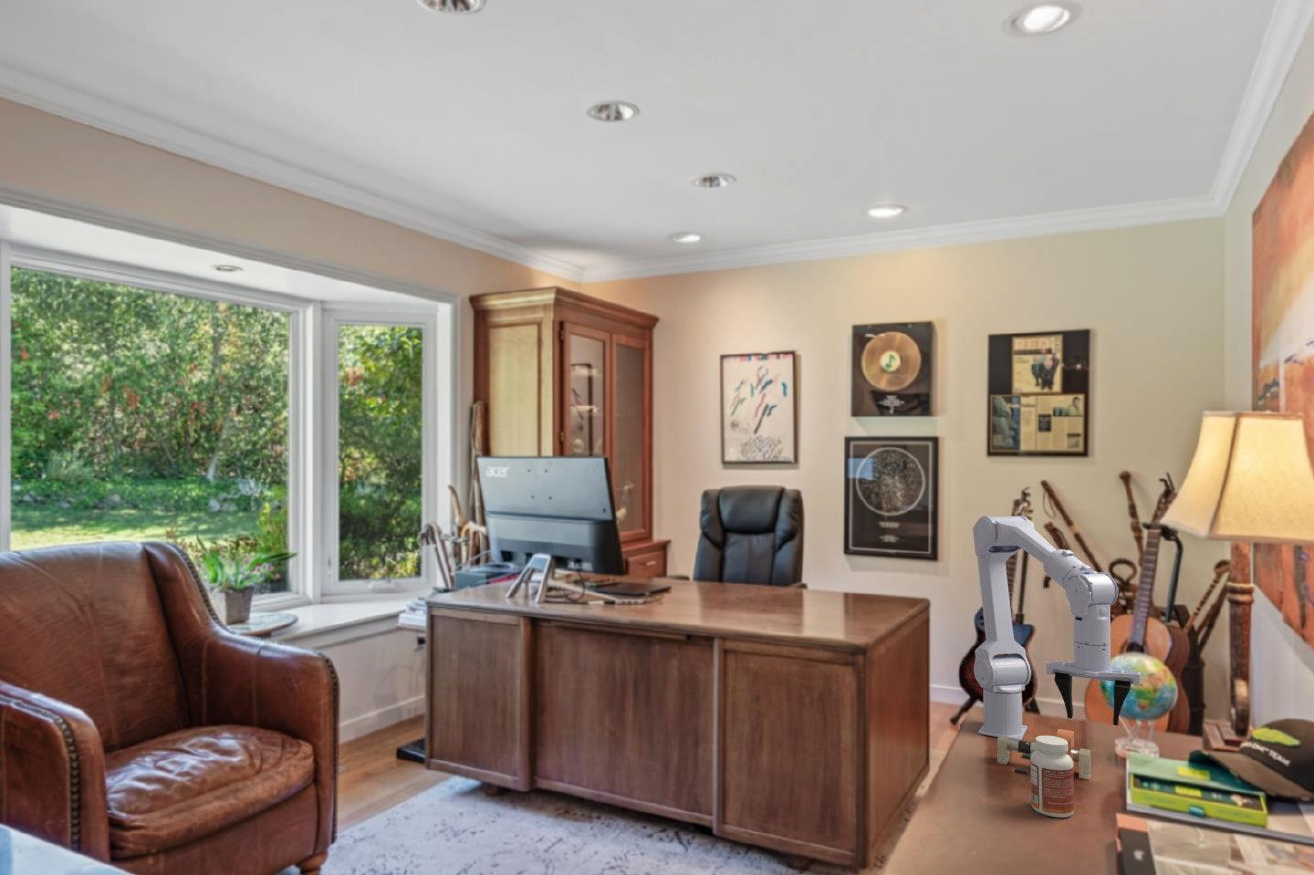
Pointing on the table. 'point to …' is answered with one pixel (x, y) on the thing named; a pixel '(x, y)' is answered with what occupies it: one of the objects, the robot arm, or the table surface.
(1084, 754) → the pipe rail
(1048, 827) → the table surface
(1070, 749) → the upright terracotta block
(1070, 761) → the pill bottle
